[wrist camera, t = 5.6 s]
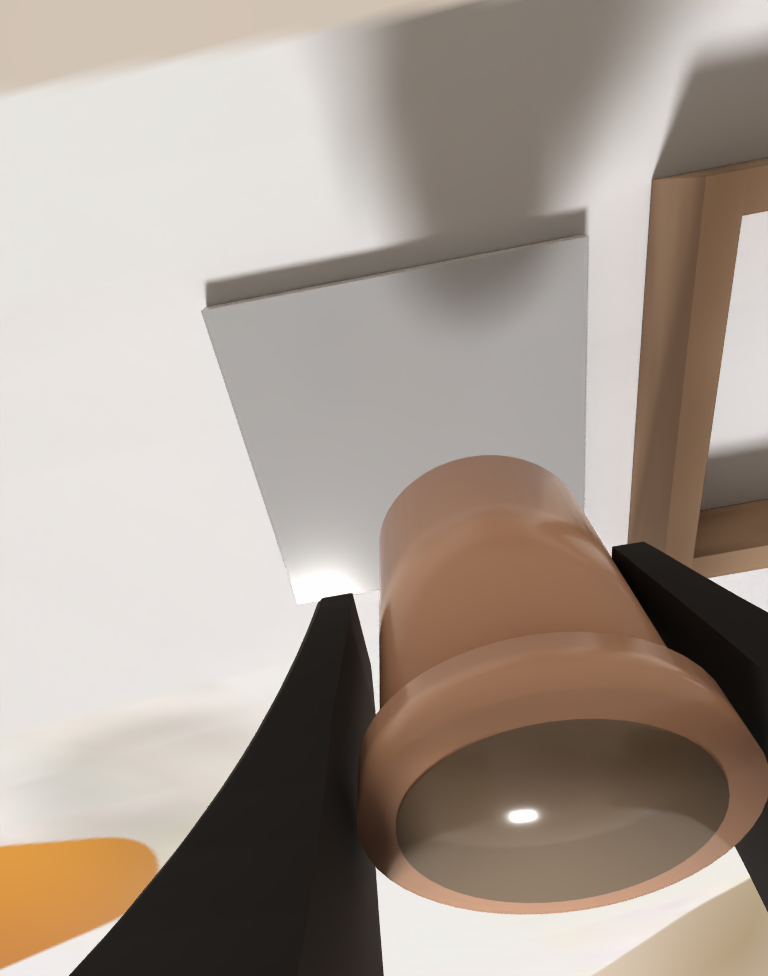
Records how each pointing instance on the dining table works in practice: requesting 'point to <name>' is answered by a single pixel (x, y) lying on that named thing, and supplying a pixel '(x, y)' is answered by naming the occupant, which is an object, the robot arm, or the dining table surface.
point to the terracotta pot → (536, 710)
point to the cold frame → (691, 369)
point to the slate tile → (402, 392)
